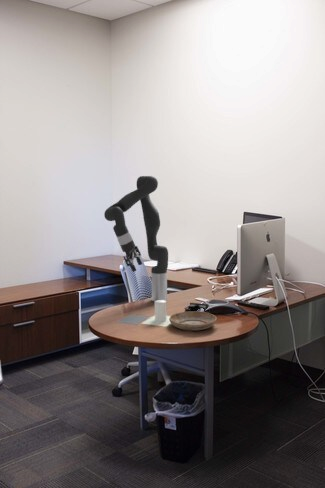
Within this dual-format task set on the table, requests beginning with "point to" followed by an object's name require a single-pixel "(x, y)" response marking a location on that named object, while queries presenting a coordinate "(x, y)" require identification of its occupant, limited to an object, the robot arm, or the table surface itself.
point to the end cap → (197, 307)
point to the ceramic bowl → (193, 320)
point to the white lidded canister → (160, 311)
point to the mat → (133, 319)
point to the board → (152, 322)
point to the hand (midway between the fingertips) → (137, 267)
